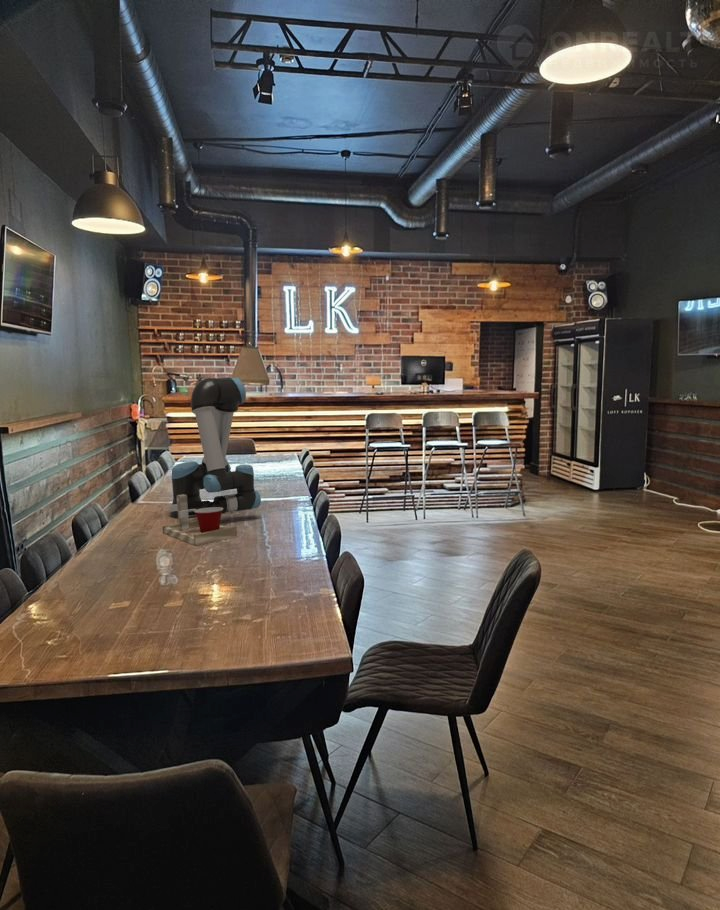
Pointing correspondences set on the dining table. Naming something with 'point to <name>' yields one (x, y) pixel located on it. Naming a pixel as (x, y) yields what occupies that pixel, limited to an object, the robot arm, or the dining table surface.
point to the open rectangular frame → (185, 524)
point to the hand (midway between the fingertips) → (174, 511)
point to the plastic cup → (209, 518)
